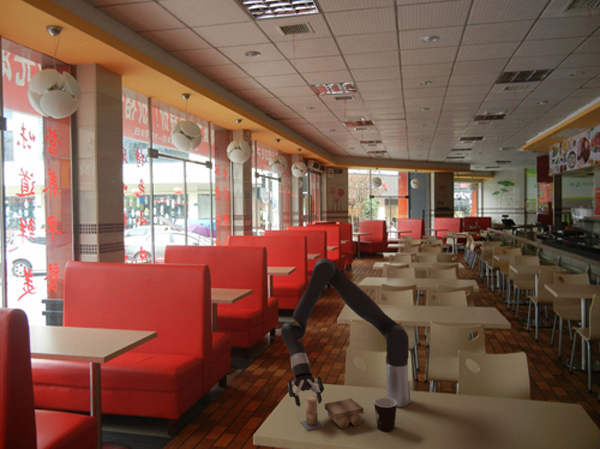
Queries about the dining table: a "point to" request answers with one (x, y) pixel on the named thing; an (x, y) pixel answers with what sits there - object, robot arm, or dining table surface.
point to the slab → (344, 412)
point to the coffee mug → (385, 413)
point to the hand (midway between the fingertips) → (309, 404)
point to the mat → (312, 426)
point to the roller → (311, 411)
